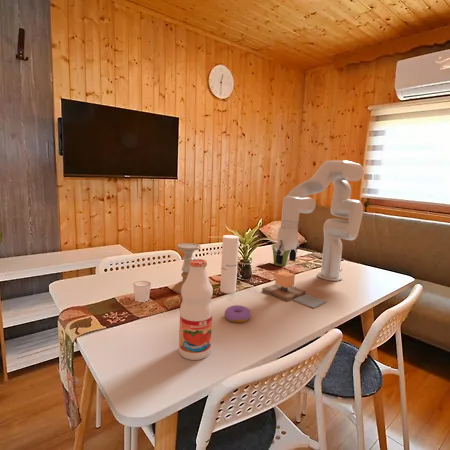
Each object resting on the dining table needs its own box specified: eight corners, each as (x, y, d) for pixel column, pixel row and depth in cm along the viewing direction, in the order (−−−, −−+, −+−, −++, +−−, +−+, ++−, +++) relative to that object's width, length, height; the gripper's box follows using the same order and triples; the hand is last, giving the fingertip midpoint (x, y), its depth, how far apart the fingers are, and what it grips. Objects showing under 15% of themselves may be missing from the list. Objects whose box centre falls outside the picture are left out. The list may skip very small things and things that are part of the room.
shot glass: (153, 298, 132) (154, 282, 131) (144, 304, 126) (144, 287, 124) (139, 295, 134) (139, 279, 133) (129, 301, 128) (129, 284, 127)
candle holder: (206, 289, 144) (208, 246, 141) (185, 296, 135) (187, 250, 132) (188, 282, 153) (190, 241, 149) (167, 288, 144) (168, 244, 140)
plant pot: (291, 268, 184) (293, 249, 182) (271, 267, 184) (272, 248, 182) (288, 262, 196) (289, 244, 194) (268, 261, 196) (270, 243, 194)
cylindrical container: (234, 294, 141) (237, 238, 137) (218, 292, 142) (221, 237, 138) (237, 288, 148) (240, 235, 144) (222, 286, 149) (224, 234, 145)
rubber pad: (306, 295, 144) (306, 294, 144) (326, 302, 137) (326, 301, 137) (293, 300, 137) (293, 299, 137) (313, 308, 130) (313, 307, 130)
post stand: (280, 285, 155) (282, 268, 154) (305, 294, 145) (307, 276, 144) (262, 291, 146) (263, 274, 144) (287, 301, 136) (288, 283, 134)
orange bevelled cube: (283, 281, 149) (284, 270, 148) (293, 285, 145) (294, 274, 144) (275, 283, 145) (276, 273, 144) (285, 287, 141) (286, 276, 140)
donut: (234, 309, 125) (237, 298, 124) (253, 321, 120) (256, 310, 119) (218, 317, 118) (221, 305, 116) (237, 330, 112) (240, 319, 111)
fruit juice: (204, 341, 101) (207, 255, 96) (215, 357, 93) (219, 264, 88) (175, 346, 97) (177, 257, 93) (184, 363, 89) (187, 267, 84)
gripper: (293, 222, 149) (290, 257, 151) (270, 224, 137) (266, 262, 140) (307, 224, 143) (303, 261, 146) (284, 227, 132) (280, 267, 134)
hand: (285, 262), depth 143 cm, fingers open, 9 cm apart
